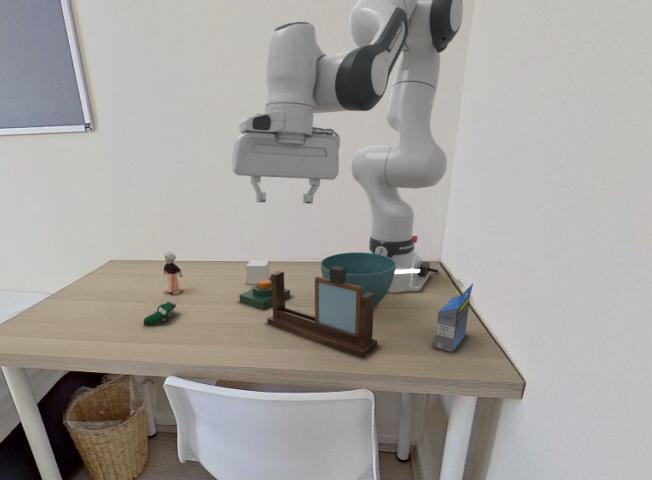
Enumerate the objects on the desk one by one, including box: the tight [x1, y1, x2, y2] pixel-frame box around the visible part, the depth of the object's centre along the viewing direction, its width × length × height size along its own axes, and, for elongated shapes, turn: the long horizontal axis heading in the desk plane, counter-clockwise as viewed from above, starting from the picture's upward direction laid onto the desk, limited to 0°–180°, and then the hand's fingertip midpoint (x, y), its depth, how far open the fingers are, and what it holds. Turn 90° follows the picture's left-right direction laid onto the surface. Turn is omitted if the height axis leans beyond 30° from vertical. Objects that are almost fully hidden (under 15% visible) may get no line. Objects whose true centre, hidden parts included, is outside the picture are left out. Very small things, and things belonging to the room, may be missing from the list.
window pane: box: [314, 266, 363, 335], centre depth 83 cm, size 2×11×15 cm, turn 48°
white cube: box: [245, 259, 271, 285], centre depth 123 cm, size 6×6×6 cm
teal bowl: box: [320, 251, 396, 309], centre depth 100 cm, size 18×18×12 cm
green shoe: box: [143, 298, 177, 326], centre depth 100 cm, size 9×4×6 cm
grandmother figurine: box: [162, 251, 183, 295], centre depth 116 cm, size 8×4×13 cm, turn 68°
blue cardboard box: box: [433, 283, 474, 353], centre depth 81 cm, size 9×4×12 cm, turn 140°
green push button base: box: [238, 283, 291, 311], centre depth 109 cm, size 11×9×4 cm
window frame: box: [266, 270, 379, 359], centre depth 87 cm, size 6×26×12 cm, turn 48°
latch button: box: [258, 279, 271, 289], centre depth 108 cm, size 4×4×2 cm
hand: (284, 202), depth 75 cm, fingers open, 8 cm apart
